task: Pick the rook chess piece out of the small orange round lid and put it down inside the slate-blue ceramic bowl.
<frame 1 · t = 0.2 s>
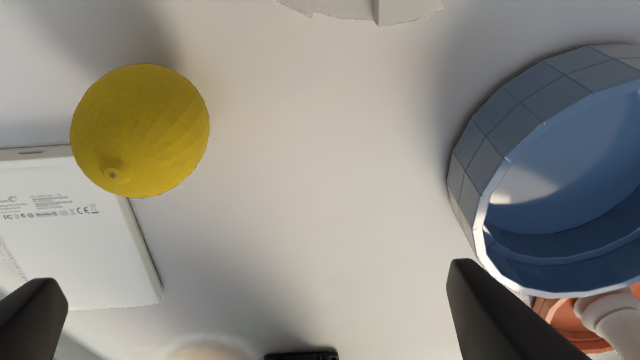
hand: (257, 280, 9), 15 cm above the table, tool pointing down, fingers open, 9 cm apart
bowl: (559, 158, 25), on the table
orange round lid: (596, 293, 33), on the table
hard drive: (79, 226, 27), on the table
rook chess piece: (597, 295, 32), resting on orange round lid
lemon: (170, 93, 22), on the table
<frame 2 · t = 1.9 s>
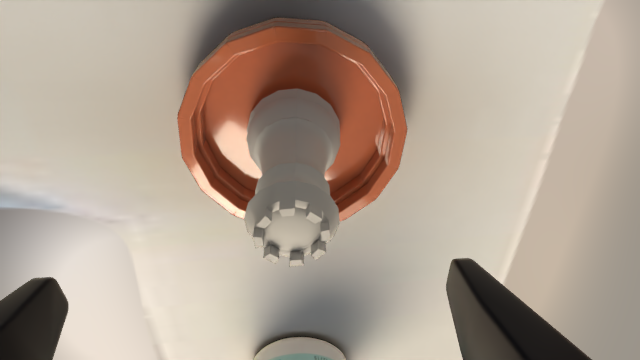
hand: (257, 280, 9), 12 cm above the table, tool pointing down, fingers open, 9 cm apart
orange round lid: (294, 124, 20), on the table
pill bottle: (299, 359, 31), on the table
rook chess piece: (294, 126, 20), resting on orange round lid
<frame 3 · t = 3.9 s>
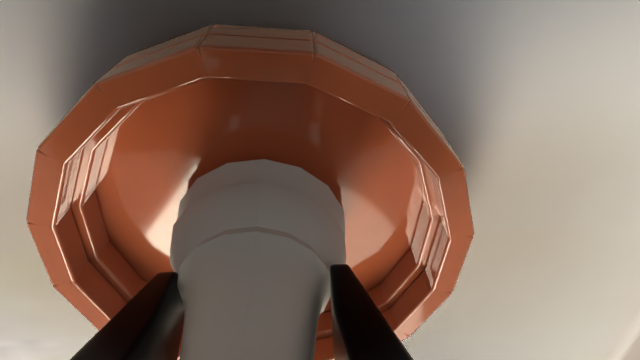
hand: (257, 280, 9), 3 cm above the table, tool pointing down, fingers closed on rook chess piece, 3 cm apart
orange round lid: (265, 210, 11), on the table
rook chess piece: (264, 215, 11), resting on orange round lid, touching gripper
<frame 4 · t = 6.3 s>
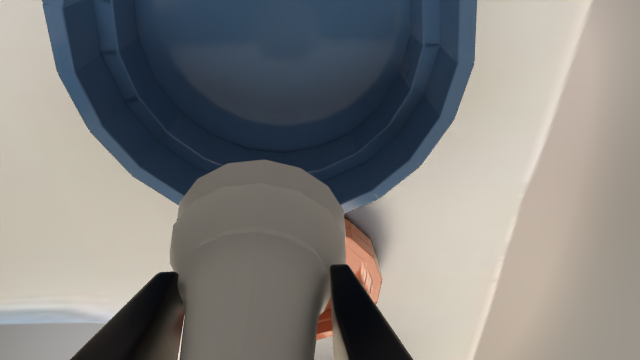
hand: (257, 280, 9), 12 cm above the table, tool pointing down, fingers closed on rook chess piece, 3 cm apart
bowl: (275, 31, 18), on the table
orange round lid: (297, 266, 26), on the table
rook chess piece: (264, 215, 11), point 10 cm above the table, touching gripper
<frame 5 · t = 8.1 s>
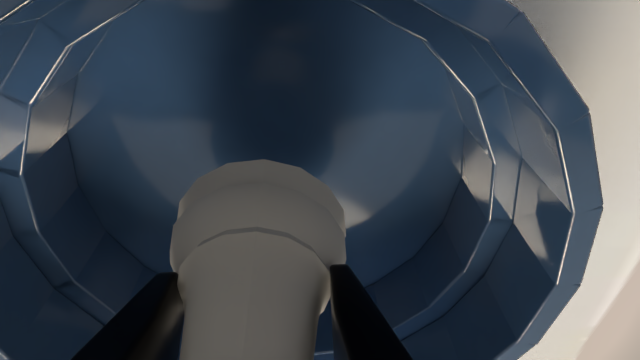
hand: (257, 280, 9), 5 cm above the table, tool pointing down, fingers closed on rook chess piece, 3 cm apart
bowl: (273, 171, 13), on the table
rook chess piece: (264, 215, 11), point 2 cm above the table, touching gripper
when the fingers open (3 cm above the table, at t = 9.0 s): rook chess piece stays where it is, resting on bowl.
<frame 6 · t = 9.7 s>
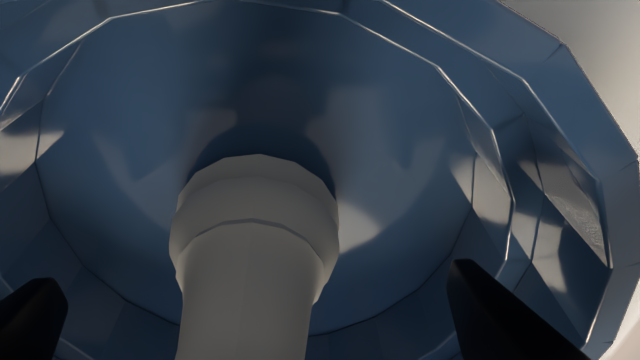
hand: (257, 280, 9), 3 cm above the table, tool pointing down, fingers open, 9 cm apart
bowl: (265, 200, 12), on the table
rook chess piece: (260, 209, 12), resting on bowl
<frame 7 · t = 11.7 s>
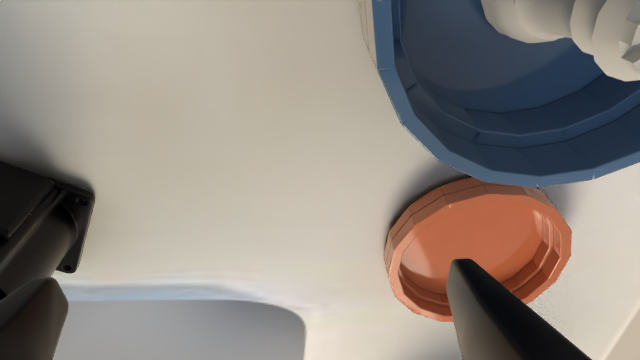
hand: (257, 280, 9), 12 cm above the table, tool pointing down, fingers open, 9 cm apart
orange round lid: (467, 242, 25), on the table
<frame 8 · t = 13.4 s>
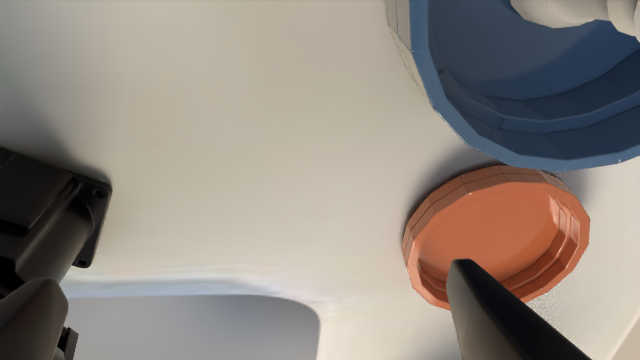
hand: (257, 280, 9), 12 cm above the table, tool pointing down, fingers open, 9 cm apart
orange round lid: (483, 232, 25), on the table
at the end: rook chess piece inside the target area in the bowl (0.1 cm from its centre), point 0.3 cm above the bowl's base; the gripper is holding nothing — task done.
